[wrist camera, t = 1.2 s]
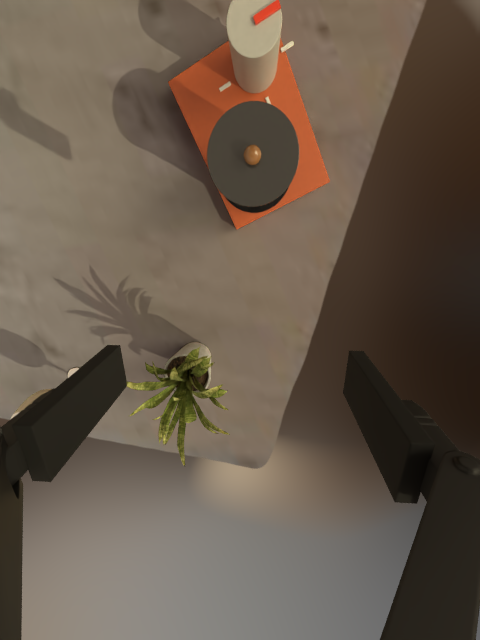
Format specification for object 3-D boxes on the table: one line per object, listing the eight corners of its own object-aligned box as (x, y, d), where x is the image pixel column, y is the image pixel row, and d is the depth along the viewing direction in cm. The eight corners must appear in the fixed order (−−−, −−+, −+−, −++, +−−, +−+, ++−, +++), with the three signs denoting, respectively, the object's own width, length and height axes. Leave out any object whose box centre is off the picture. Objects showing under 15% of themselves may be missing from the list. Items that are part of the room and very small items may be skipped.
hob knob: (245, 102, 32) (240, 68, 24) (226, 55, 30) (216, 4, 23) (283, 78, 31) (291, 35, 23) (266, 29, 29) (268, -34, 22)
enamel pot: (209, 155, 34) (186, 127, 23) (272, 118, 32) (278, 70, 21) (239, 221, 36) (230, 222, 26) (299, 189, 34) (316, 177, 24)
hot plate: (168, 80, 33) (162, 71, 31) (275, 7, 30) (276, -8, 28) (237, 229, 39) (236, 229, 37) (333, 179, 36) (338, 177, 34)
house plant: (251, 389, 48) (247, 469, 32) (177, 402, 50) (141, 484, 35) (228, 313, 43) (212, 366, 28) (148, 332, 45) (92, 391, 30)
